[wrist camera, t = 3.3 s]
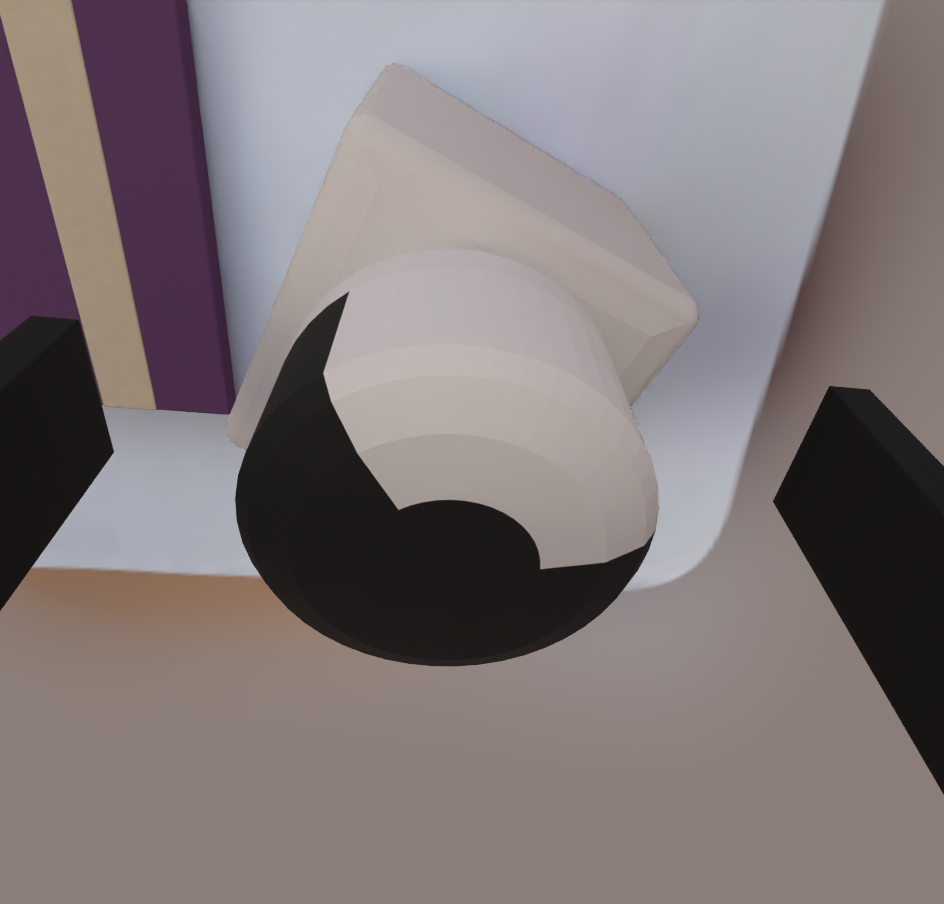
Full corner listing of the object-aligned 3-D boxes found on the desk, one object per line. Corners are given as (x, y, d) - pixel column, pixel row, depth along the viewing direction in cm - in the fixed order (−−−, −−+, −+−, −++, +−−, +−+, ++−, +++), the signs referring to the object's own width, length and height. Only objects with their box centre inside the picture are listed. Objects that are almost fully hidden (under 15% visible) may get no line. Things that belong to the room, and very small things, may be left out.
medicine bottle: (497, 400, 22) (531, 756, 12) (286, 302, 19) (120, 640, 10) (630, 202, 18) (835, 484, 8) (389, 54, 16) (284, 203, 6)
